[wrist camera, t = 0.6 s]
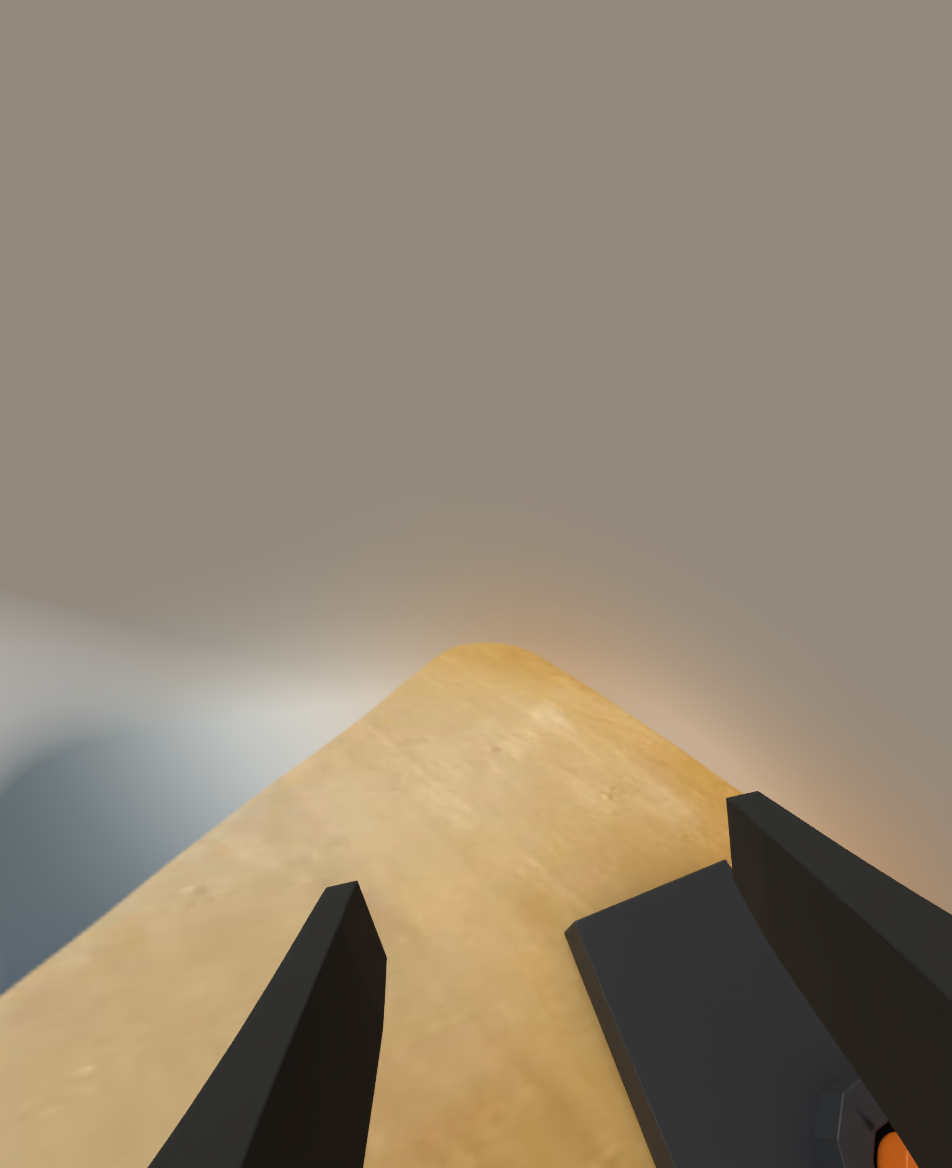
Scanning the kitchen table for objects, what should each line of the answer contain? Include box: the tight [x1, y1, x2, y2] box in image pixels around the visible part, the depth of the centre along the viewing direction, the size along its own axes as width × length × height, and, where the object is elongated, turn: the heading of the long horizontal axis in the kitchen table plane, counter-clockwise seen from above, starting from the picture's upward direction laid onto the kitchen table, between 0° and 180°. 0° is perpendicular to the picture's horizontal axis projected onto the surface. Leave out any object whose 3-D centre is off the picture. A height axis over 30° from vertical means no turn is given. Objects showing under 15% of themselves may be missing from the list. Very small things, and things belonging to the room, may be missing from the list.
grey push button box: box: [565, 860, 896, 1168], centre depth 19 cm, size 15×11×4 cm
